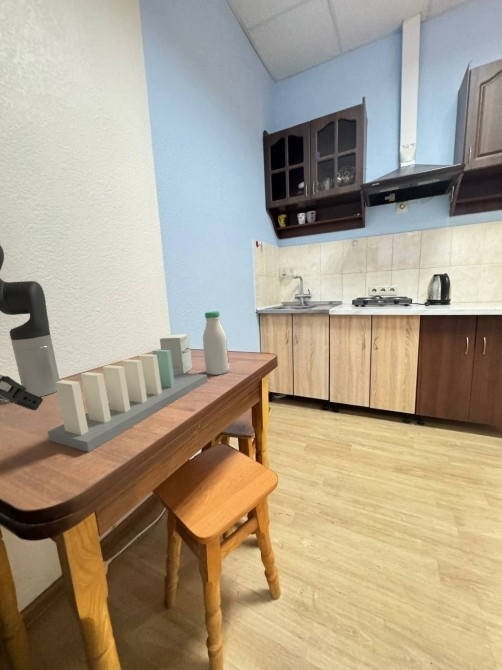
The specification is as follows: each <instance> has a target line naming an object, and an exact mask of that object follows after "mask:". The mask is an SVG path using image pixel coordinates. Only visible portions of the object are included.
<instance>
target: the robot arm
mask: <svg viewBox="0 0 502 670" xmlns="http://www.w3.org/2000/svg"><path fill="white" fill-rule="evenodd" d="M4 261H5V252H4V248H3V247H2V246H1V244H0V271H1V269H2V267H3V264H4ZM47 311H48V310H47V302H46V295H45V292H44V290H43V287H42V285H41V284H40V283H39V282H37V281H34V280H27V281H26V280H25V281H23V280H22V281H11V282H10V281H4V280H3V279H2V278H0V312H1V313H2V314H4V315H7V316H8V315H10V316H12V315H13V316H17V315H28V314H29V318H28V320H27V321H26V322H24V323H22V324H20V325H19V326H16V327H15V326H14V327H13V328H11V329H10V330H9V336H10V341H11V345H12V350H13V354H14V358H15V362H16V363H15V364H16V367H17V371H18V376H19V381H20V383H19V382H17V381H16V380H14V379H13V378H11V377H10V376H8V375H7V376H6V375H2V374H0V400H1V402H3V403H8V404H15V405H17V406H20V407H22V408H24V409H26V410H31V411H36V410H38V409H39V407H40V406H41V404H42V403H43V401H44V400H43V398H42V397H44V396H48V395H52V394H54V393H57V389H56V384H55V382H58V381H61V380H60V375H59V370H58V365H57V360H56V355H55V351H54V346H53V341H52V337H51V331H50V324H49V323H50V321H49V317H48V312H47Z"/></svg>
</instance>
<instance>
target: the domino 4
mask: <svg viewBox="0 0 502 670" xmlns="http://www.w3.org/2000/svg"><path fill="white" fill-rule="evenodd" d="M121 366H123V367H124V372H125V378H126V384H127V391H128V397H129V401H134V402H140V403H144V402H145V401H147V395H146V388H145V381H144V375H143V368H142V361H141V360H139V359H126V358H125V359H123V360H121Z"/></svg>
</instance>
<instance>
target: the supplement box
mask: <svg viewBox="0 0 502 670" xmlns="http://www.w3.org/2000/svg"><path fill="white" fill-rule="evenodd" d="M159 344H160V350H170V351H171V358H172V366H173V373H175V372H178V373H188V372H190V370H192V369H193V363H192V355H191V346H190V335H189V333H184V334H183V333H181V334H180V333H179V334H177V333H176V334H169V335H167V336H164V337H161V338H159Z"/></svg>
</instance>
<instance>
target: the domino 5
mask: <svg viewBox="0 0 502 670" xmlns="http://www.w3.org/2000/svg"><path fill="white" fill-rule="evenodd" d="M137 358H138V359H137V360H141V361H142V368H143V375H144V381H145V388H146V393H148V394H155V395H159V394H161V393H162V389H161V382H160V374H159V367H158V360H157V355H153V354H148V353H147V354H145V353H143V354H139V355H137Z"/></svg>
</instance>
